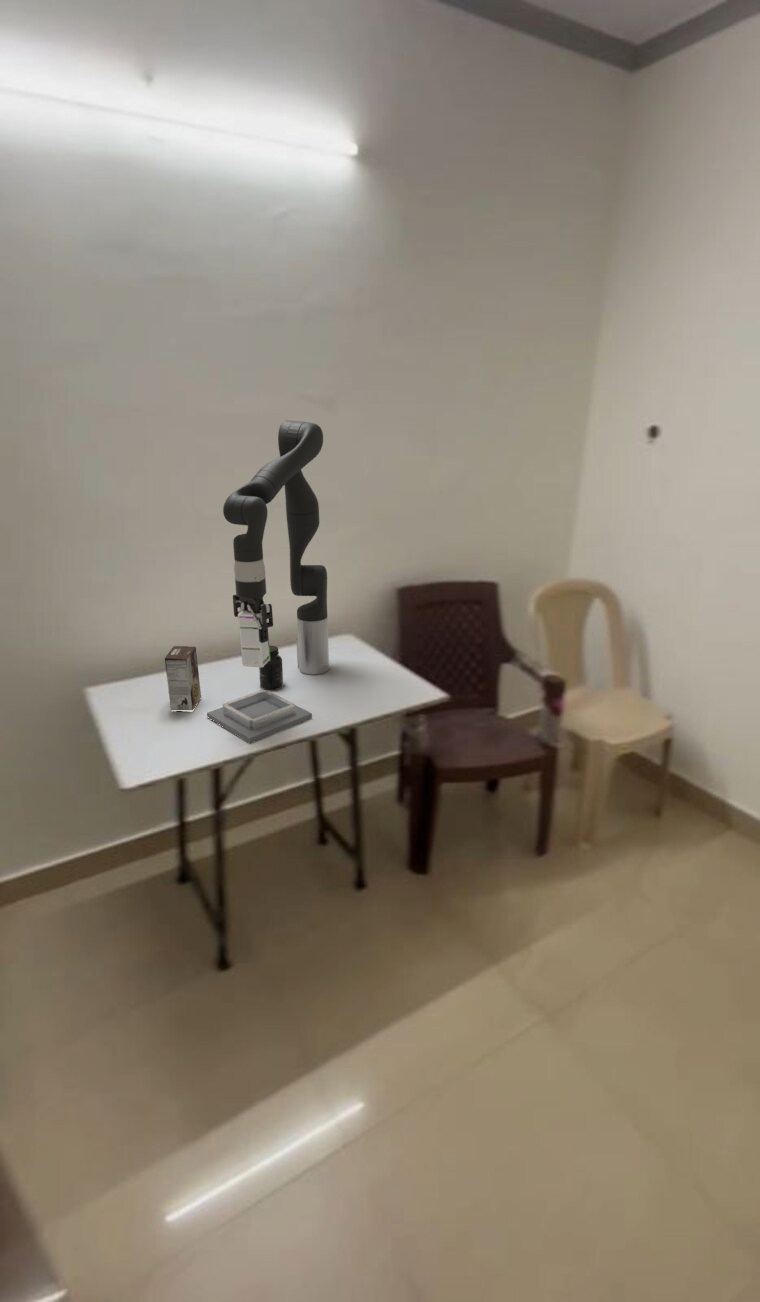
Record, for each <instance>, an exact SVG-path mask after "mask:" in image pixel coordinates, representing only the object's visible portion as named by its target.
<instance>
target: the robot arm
mask: <svg viewBox="0 0 760 1302" xmlns="http://www.w3.org/2000/svg"><path fill="white" fill-rule="evenodd" d="M277 442H278V452H279V457H277V458H275V459H273V460H271V461H269V462H267V463H266V464H265V465H263V466H262V467H261V468H259V470H258V471H257V472H256V474H255V475H254V476H253V477H252V478H251V479H250V481H249V482H247V483H245V484H243V485H242V486H240V487H239V488H238V489H236V490H234V491H233V492H232V493H230V494H229V496H228V497H227V498H226V500H225V502H224V504H223V507H222V509H223V510H222V514H223V517H224V519H225V520H226V522H228V523H230V524H233V525H237V526H238V525H239V526H247V530H246V533H241V534H238V535H236V536H234V538H233V540H232V543H233V556H234V563H233V564H234V566H233V567H234V568H233V569H234V570H233V571H234V572H233V573H234V581H235V582H234V583H235V594H233V595H232V606H233V615H234V617H235V618H238V614H239V613H240V612H241V611H244V610H246V611H250V613H252V615H253V620H254V621H255V622H257V625H258V627H259V641H260V642H261V643H264V642H267V641H268V635H269V628H273V627H274V617H273V606H272V604H271V603H265V602H264V596H266V594H267V582H266V567H265V562H264V552H263V551H264V550H263V540H264V534H265V528H266V524H267V519H268V513H269V512H268V508H267V507H268V506H267V504H270V503H271V502H272V501H273V500H274V499H275V497H277V495H278V493H280V491H281V490H282V488H283V487H284V495H285V497H284V498H285V515H286V523H287V532H288V533H287V534H288V543H289V576H290V577H289V578H290V579H289V580H290V581H289V582H290V589H291V593H292V594H293V595H294V596H298V597H315V599H313V600H311V601H310V602H307V603H304V604H302V605H300V606H298V607H297V610H296V620H297V638H296V657H297V658H296V659H297V668H298V669H299V671H300V673H303V674H305V675H321V674H325V673H327V672H328V671H329V670H330V657H329V655H330V654H329V651H330V650H329V626H328V625H329V624H328V619H329V617H328V572H327V568H326V567H325V565H323V564H302V558H303V556H304V553H305V551H306V550H307V548H308V546H309V544H310V542H311V541H312V540H313V538H314V536H315V535H316V533H317V531H318V529H319V527H320V507H319V505H320V504H319V500H318V498H317V496H316V493H315V492H314V490H313V488H312V487H311V485H310V484H309V482H308V481H307V479H306V477H305V476H304V474H303V471H302V469H303V468H305V467H306V466H307V465H308V464H309V463H310V462H312V461H313V460H314V459H315V458H316V457H317V456H318V455H319V453H320V452H321V450H322V447H323V444H324V433H323V430H322V428H321V426H319V424H317V423H314V422H308V421H300V420H290V419H289V420H288V419H287V420H284V421H283V422H281V424H280V426H279V429H278V432H277ZM258 613H262V616H259V617H258V616H256V614H258ZM260 620H262V624H261V621H260Z"/></svg>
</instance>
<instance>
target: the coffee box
mask: <svg viewBox="0 0 760 1302" xmlns="http://www.w3.org/2000/svg"><path fill="white" fill-rule="evenodd" d="M164 664H165V671H166V679H167V680H166V681H167V687H168V690H167V691H168V696H169V705H170V711H171V710H193V709H194V708H195V706H196V704H197V703H198V701H199V700H200V701H201V699H202V692H201V684H200V682H201V681H200V673H199V665H198V656H197V647H196V646H189V645H188V646H187V645H186V646H185V645H173V647H172V648H171V649H170V650H169V652H168V653H167V655H166V656H165V657H164ZM200 698H201V699H200ZM200 701H199V702H200ZM198 704H199V703H198ZM198 704H197V705H198ZM196 707H197V706H196ZM195 709H196V708H195Z"/></svg>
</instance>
